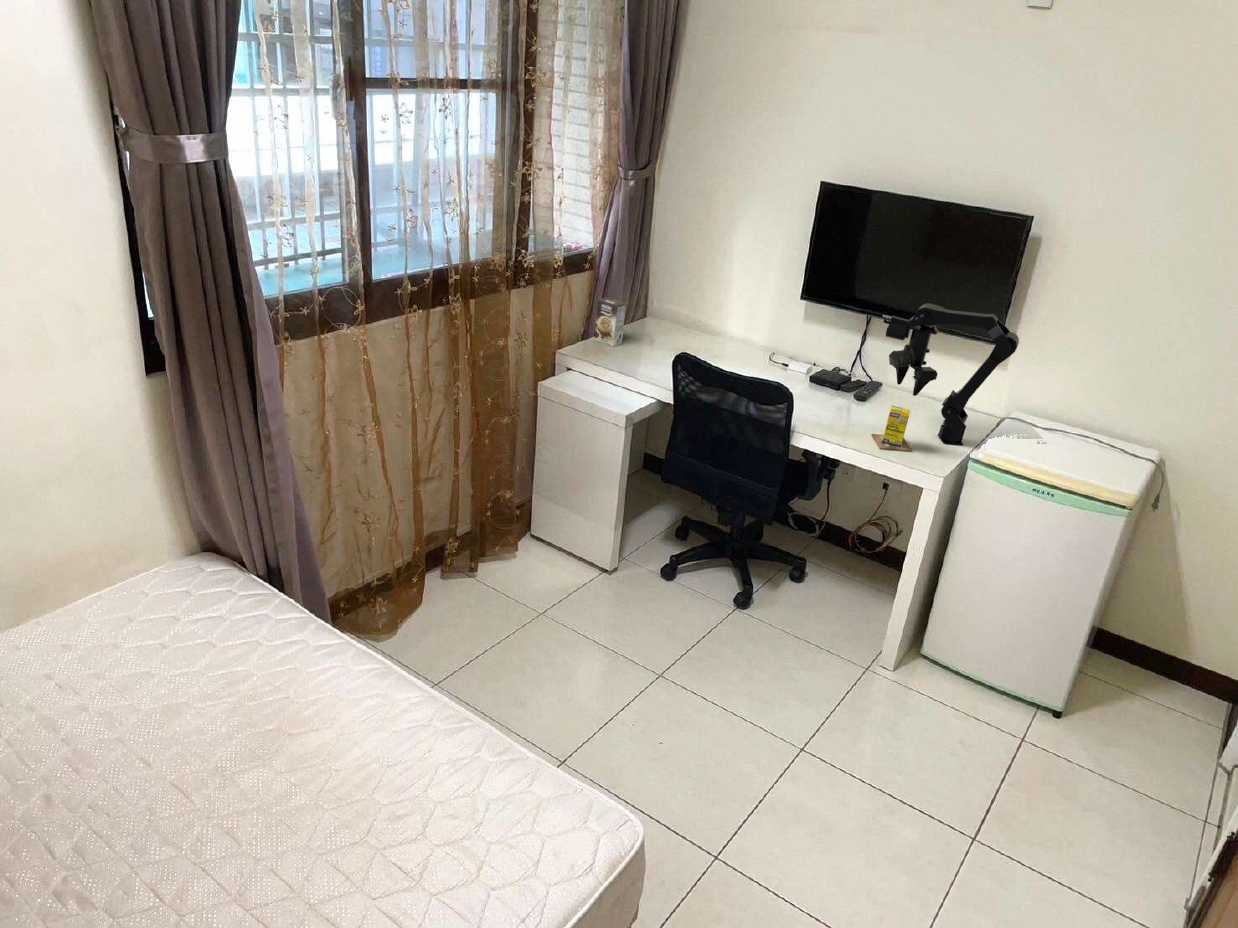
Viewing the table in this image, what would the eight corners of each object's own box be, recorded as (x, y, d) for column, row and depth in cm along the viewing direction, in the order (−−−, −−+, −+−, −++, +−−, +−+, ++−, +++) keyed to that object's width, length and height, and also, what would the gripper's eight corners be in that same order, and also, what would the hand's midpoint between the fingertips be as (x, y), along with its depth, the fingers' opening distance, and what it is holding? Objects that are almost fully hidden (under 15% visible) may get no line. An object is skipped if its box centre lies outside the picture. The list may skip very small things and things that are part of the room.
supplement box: (881, 443, 277) (889, 411, 272) (883, 436, 282) (891, 404, 277) (900, 447, 275) (909, 415, 270) (902, 440, 281) (910, 408, 276)
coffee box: (593, 340, 339) (596, 299, 332) (603, 336, 344) (606, 296, 336) (613, 347, 335) (616, 305, 327) (622, 343, 339) (626, 302, 332)
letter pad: (902, 438, 284) (902, 436, 283) (911, 452, 275) (911, 450, 275) (871, 435, 283) (871, 433, 283) (879, 449, 274) (879, 447, 274)
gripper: (880, 334, 284) (869, 379, 291) (912, 355, 269) (900, 402, 276) (910, 333, 287) (899, 378, 295) (944, 354, 272) (931, 401, 279)
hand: (906, 389), depth 286 cm, fingers open, 9 cm apart
